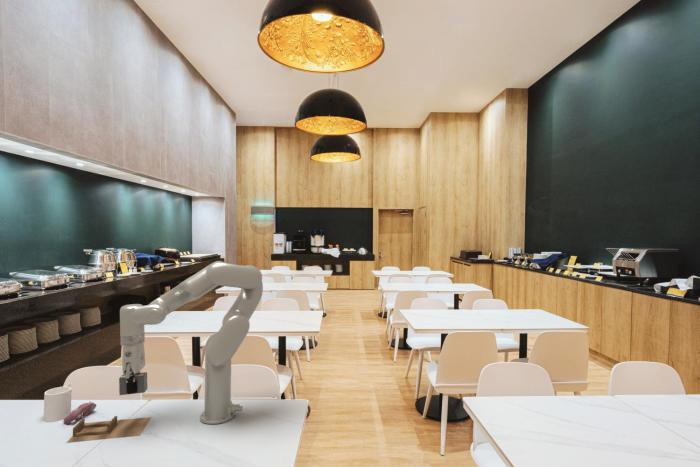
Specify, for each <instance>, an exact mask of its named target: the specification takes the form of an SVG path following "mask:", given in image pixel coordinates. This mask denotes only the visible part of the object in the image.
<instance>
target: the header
mask: <svg viewBox="0 0 700 467" xmlns="http://www.w3.org/2000/svg"><path fill="white" fill-rule="evenodd" d="M151 419H152V416H148V417H137V418H135V417H134V418H125V419H118V415H115V416H114V417H113V418H112V419H111V420H104V421H95V422H85V420H86V419H85V418H81V419H80V420H79V421H78V423H76V424H75V426H73V428H72V436H71V437H70V438H69V439H68V440H67V442H66V443H65V444H70V443H80V442H90V441H98V440H110V439H118V438H127V437H128V438H129V437H139V436H141V434H142V433H143V431H144V430H145V429H146V427H147V425H148V423H149V422H150V420H151Z"/></svg>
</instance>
